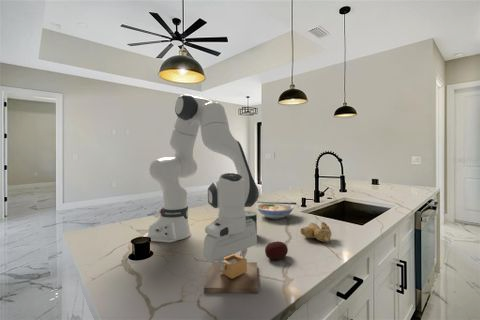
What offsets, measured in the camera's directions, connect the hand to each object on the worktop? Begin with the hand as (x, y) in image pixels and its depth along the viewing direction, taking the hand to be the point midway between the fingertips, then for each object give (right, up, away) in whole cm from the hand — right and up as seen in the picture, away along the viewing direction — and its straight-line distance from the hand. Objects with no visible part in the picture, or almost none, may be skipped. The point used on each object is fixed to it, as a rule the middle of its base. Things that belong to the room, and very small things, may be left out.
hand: (232, 265), depth 78 cm
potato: (+17, -4, +14) cm, 22 cm away
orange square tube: (0, -2, 0) cm, 2 cm away
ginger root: (+39, -3, +34) cm, 51 cm away
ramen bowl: (+24, -1, +69) cm, 73 cm away
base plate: (0, -4, 0) cm, 4 cm away
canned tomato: (+7, -3, +39) cm, 40 cm away
